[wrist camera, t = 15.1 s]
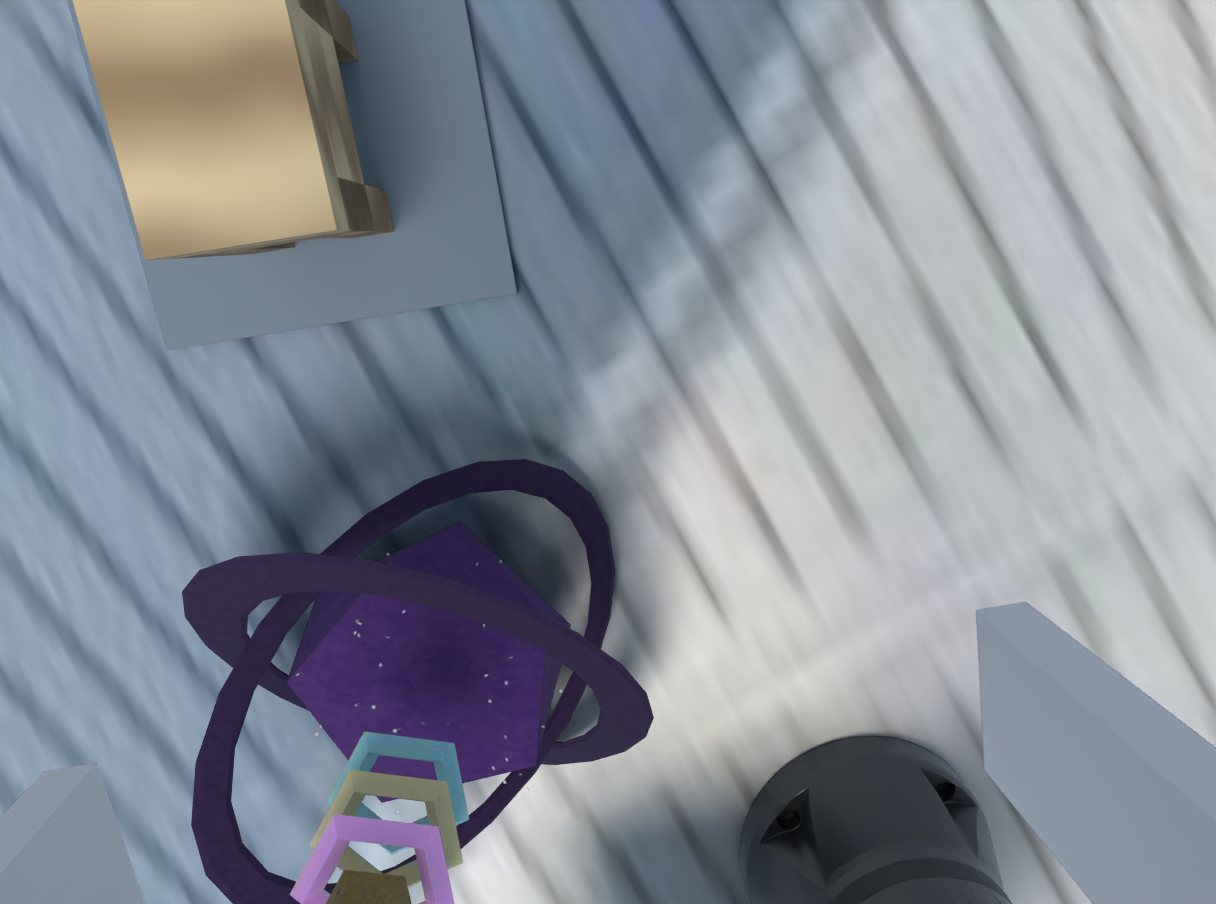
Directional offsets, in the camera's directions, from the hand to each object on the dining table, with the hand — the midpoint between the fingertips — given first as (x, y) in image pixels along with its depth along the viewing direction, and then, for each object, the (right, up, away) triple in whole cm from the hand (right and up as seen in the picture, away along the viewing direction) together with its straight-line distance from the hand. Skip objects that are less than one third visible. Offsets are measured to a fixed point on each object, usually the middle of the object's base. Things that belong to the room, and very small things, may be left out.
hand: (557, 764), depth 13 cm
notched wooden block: (-14, +20, +29) cm, 38 cm away
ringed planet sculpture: (-8, -4, +37) cm, 38 cm away
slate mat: (-14, +20, +30) cm, 39 cm away
